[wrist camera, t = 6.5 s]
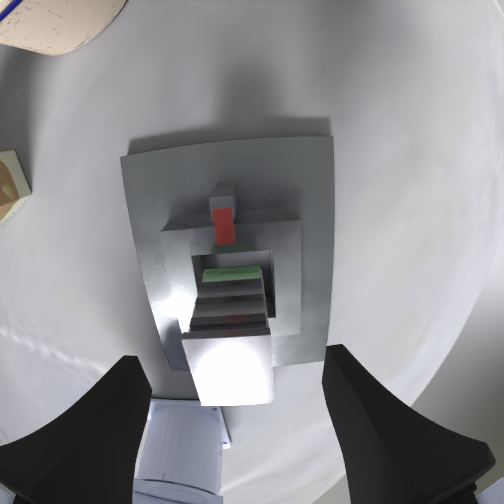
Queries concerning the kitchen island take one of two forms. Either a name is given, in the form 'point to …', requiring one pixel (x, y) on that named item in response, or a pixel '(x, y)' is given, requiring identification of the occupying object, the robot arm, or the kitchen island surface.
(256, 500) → the kitchen island surface
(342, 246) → the kitchen island surface
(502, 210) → the kitchen island surface
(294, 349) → the stand base
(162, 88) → the kitchen island surface
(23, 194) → the skincare box
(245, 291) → the grey ribbed block
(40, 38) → the teacup with lid
